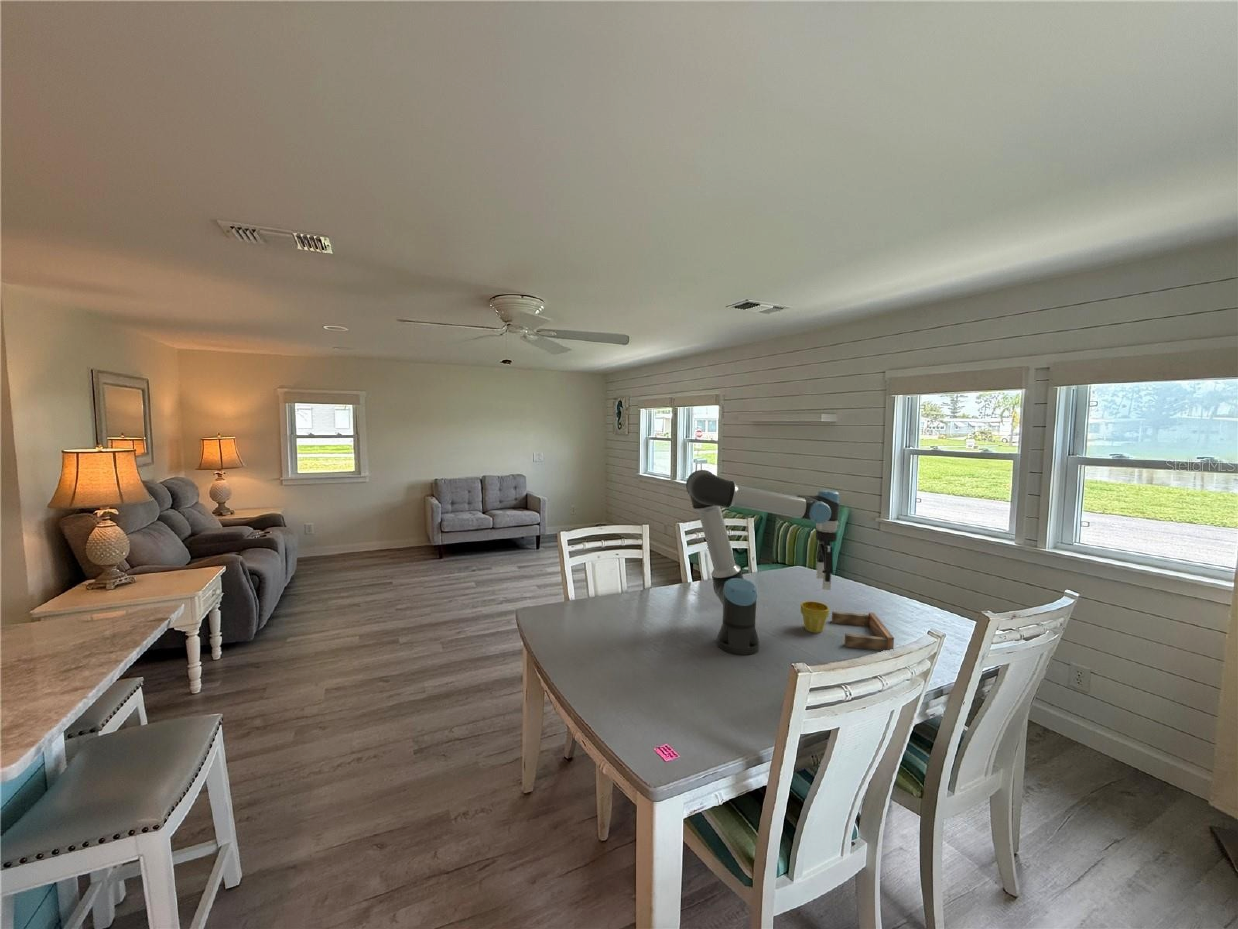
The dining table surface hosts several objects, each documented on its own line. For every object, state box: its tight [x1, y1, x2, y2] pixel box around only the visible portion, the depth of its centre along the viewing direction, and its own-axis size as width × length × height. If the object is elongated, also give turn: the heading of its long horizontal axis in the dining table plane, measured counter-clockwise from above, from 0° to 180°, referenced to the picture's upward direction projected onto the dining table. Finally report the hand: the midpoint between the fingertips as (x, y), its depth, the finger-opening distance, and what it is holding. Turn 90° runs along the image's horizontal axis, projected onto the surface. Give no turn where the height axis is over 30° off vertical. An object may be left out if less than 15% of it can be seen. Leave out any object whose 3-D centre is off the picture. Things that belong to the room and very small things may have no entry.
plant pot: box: [800, 600, 830, 634], centre depth 195 cm, size 10×10×10 cm
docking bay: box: [831, 611, 895, 651], centre depth 191 cm, size 16×24×5 cm, turn 168°
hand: (823, 583), depth 192 cm, fingers open, 13 cm apart
